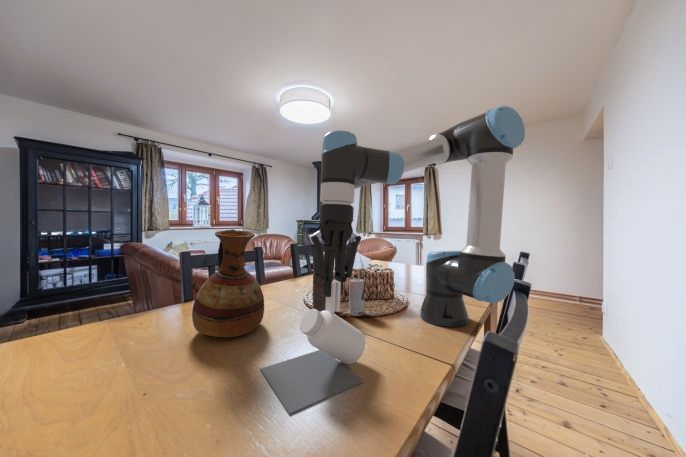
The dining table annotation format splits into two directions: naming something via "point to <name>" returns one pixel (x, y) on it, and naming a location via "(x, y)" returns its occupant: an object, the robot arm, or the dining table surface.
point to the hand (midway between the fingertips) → (332, 310)
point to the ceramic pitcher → (229, 292)
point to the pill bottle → (333, 335)
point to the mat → (308, 380)
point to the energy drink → (356, 297)
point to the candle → (318, 293)
